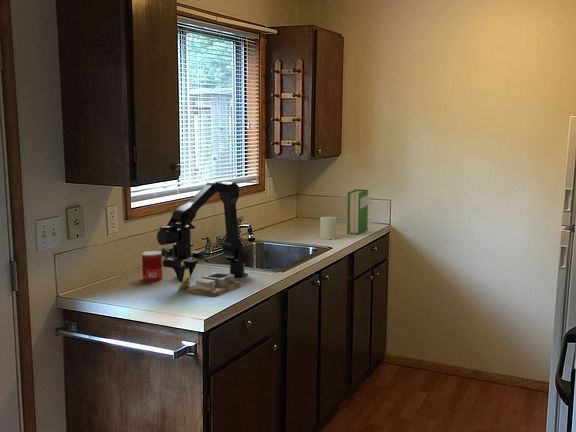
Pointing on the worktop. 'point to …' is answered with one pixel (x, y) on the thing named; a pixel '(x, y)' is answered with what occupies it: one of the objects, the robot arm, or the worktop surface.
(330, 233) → the can
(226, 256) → the robot arm
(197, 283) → the jig
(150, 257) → the canned food
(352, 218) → the hardback book
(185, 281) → the cylinder
